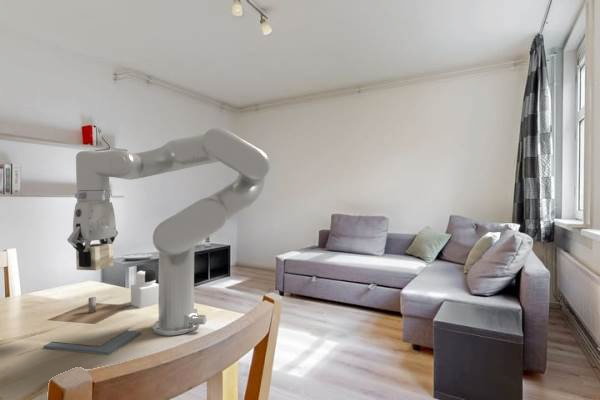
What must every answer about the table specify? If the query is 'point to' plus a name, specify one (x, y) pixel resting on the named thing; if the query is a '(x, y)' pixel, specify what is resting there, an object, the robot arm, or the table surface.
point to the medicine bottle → (145, 289)
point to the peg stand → (90, 312)
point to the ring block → (98, 257)
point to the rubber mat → (102, 349)
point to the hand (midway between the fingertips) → (95, 263)
